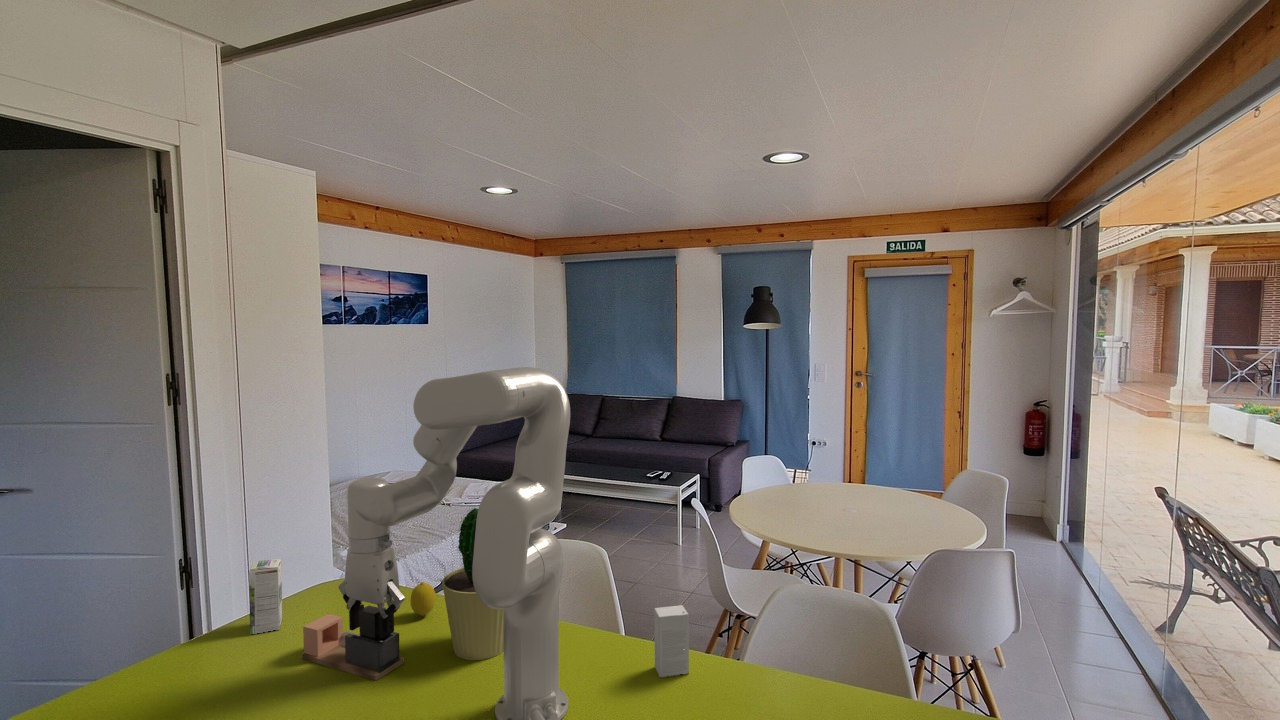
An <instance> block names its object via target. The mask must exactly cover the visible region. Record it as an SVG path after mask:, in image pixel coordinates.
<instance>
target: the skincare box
mask: <svg viewBox="0 0 1280 720" xmlns="http://www.w3.org/2000/svg"><path fill="white" fill-rule="evenodd" d="M653 611H654V612H653V615H654V616H653V617H654V618H653V619H654V620H653V621H654V622H653V623H654V625H653V626H654V667H655V669H656V672H657V675H658V677H659V678H660V677H661V678H667V676H668V677H675V676H681V675H680V674H683V675H687V674H688V673H689V674H690V655H689V654H690V636H689V635H690V628H689V624H690V622H689V621H690V620H689V616H690V615H689V613H688V611H687V610H686V609H685V607H684V605H682V604H681V605H673V606H670V605H669V606H661V607H654V608H653ZM683 649H685V650H683ZM689 674H688V675H689ZM674 675H675V676H674Z"/></svg>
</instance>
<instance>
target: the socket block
mask: <svg viewBox="0 0 1280 720" xmlns="http://www.w3.org/2000/svg"><path fill="white" fill-rule="evenodd" d="M343 630H344V629H343V617H342V616H339V615H335V614H332V613H331V614H330V613H328V614H325V615H323V616H320V617H318V618H317V619H316V620H313V621H311V622H308V623H307V624H304V625H303V626H302V632H303V633H302V634H303V653H306V654H310V655H313V656H317V657H319V656H321V655H322V654H324V653H326V652H328V651H329V650H331V649H333V648H335V647H337V646H338V645H339V643H338V642H339V638H340V636H341V635H342V634H343V633H344V632H343Z"/></svg>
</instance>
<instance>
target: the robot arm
mask: <svg viewBox="0 0 1280 720" xmlns="http://www.w3.org/2000/svg"><path fill="white" fill-rule="evenodd" d="M413 413H414V417H415V418H416V420H417V422H418V423H419V424H420V426H419V427H418V429H417V431H416V432H415V433H414V436H413V440H412V441H413V442H412V443H413V447H414V449H415V451H416V452H417V453H418V455H419V456H421V457H422V458H423V459H424V460H426V461H425V463H423V466H422V467H421V468H420V470H419V472H418V473H417V474H416V475H415V476H412V477H408V478H405V479H402V480H400V481H397V482H394V483H389V482H388V481H387V480H386V479H384V478H381V477H367V478H360V479H357V480H353V481H352V482H351V483H350V484H348V486H347V491H346V492H347V494H346V495H347V524H348V525H347V529H348V535H347V536H348V549H347V553H346V557H345V558H346V559H345V568H344V569H345V570H344V580H343V581H342V582H341V583H340V584H339V585H338V590H339V591H340V593H341V595H342V598H343V600H344V601H345V603H346V607H345V608H346V610H348V617H349V619H348V620H349V622H348V623H349V625H348V626H349V627H348V628H349V631H355V630H356V629H358V628H360V625H359V610H361V609H363V608H365V605H364V604H363V603H369V604H373V605H376V607H378V608H379V611H380V614H381V616H382V617H381V618H379V637H380V638H384V637H386V636H388V635H389V634H391V633H393V632H395V613H397V611H398V609H400V608H401V606H402V604H403V603H404V601H405V600H406V599H405V596H404V594H403V593H402V592H401V591H400V580H399V570H398V569H399V568H398V562H397V561H398V560H397V556H396V553H395V549H394V548H393V547H392V545H393V540H392V539H391V527H393V526H397V525H399V524H402V523H404V522H406V521H409V520H411V519H413V518H416V517H419V516H421V515H424V514H426V513H429V512H431V511H432V510H433V509H435V508H436V507H437V506H438V505H439V503H441V501H442V500H443V498H444V497H445V496H446V494H447V493H448V491H449V490H450V488H451V487H452V485H453V483H454V482H455V479H456V477H457V470H458V461H457V457H458V456H459V454H460V453H461V451H462V450H463V449H464V447H465V445H466V444H467V442H468V440H469V439H470V437H471V436H472V435H473V433H474V432H475V430H476V428H478V426H485V425H494V424H500V423H504V422H507V421H512V420H516V419H520V418H524V424H523V426H522V429H521V431H520V433H519V436H518V438H517V439H518V440H517V442H516V446H515V454H514V455H515V460H514V465H513V471H512V475H511V476H510V478H509V479H506V480H504V481H501V482H499V483H497V484H495V485H493V486H492V487H491V488H490V489H488V490H487V492H486V493H485V494H484V495H483V498H482V499H481V501H480V504H479V505H478V508H477V509H478V513H477V521H476V532H475V543H474V555H473V568H472V576H473V584H474V588H475V591H476V593H477V595H478V597H479V599H480V600H481V601H482V602H483V603H484V604H485V605H486V606H488V607H490V608H493V609H504V615H503V640H504V652H503V694H502V695H501V696H500V697H499V698H498V700H497V701H496V703H495V707H494V708H495V709H494V713H495V714H494V715H495V719H496V720H562V719H563V718H564V717H566V716H565V715H566V714H567V712H568V709H569V698H568V695H567V694H566V692H565V691H564V690H563V689H561V688H560V643H559V642H560V638H559V636H560V634H559V633H560V629H559V628H560V627H559V624H560V592H561V584H562V577H563V570H564V551H563V547H562V545H561V542H560V541H559V539H558V538H557V537H556V535H555V534H554V533H552V532H551V531H549V530H547V529H544V528H543V527H545V526H546V525H548V524H550V523H551V522H553V521H554V520H555V519H556V518H557V516H558V515H559V513H560V511H561V508H562V503H563V502H562V501H563V491H564V481H565V480H564V479H565V473H566V472H565V469H566V460H567V459H566V458H567V445H568V438H569V430H570V425H571V405H570V399H569V396H568V393H567V391H566V389H565V387H564V386H563V384H562V383H561V382H560V380H559V379H558V378H557V377H555V376H554V375H553V374H551V373H550V372H548V371H547V370H545V369H541V368H539V367H531V366H521V367H514V368H502V369H495V370H488V371H487V370H486V371H481V372H475V373H470V374H464V375H458V376H450V377H449V376H448V377H441V378H434V379H431V380H428V381H427V382H426V383H424V384H423V385H422V386H421V387H420V388H419V389H418V391H417V392H416V394H415V397H414V400H413ZM385 603H386V604H387V606H388V607H386V604H385Z"/></svg>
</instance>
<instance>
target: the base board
mask: <svg viewBox="0 0 1280 720" xmlns="http://www.w3.org/2000/svg"><path fill="white" fill-rule="evenodd" d="M301 659H302V660H304V661H305V660H306V661H307V662H312V663H316V664H319V665H322V666H325V667H329V668H332V669H335V670H338V671H342V672H345V673H349V674H352V675H355V676H358V677H362V678H366V679H368V680H372V681H378V680H380V679H381V678H383V677H384V676H386V675H387V674H388V673H390V672H392V671H394V670H395V669H396V668H398V667H399V666H400V665H403V664H404V657H403V656H400V660H399V661H398V662H396V663H395V664H393V665H392V666H390V667H389V668H387V669H386V670H384V671H382V672H381V673H378V672H375V671H372V670H368V669H365V668H361V667H358V666H354V665H351V664H347V663H346V656H345V648H342V647H340V646H339V645H338V646H337V647H335V648H333V649H331V650H329V651H328V652H326V653H324V654H322V655H321V656H319V657H317V656H313V655H310V654H306V653H304V652H302V653H301Z"/></svg>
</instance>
